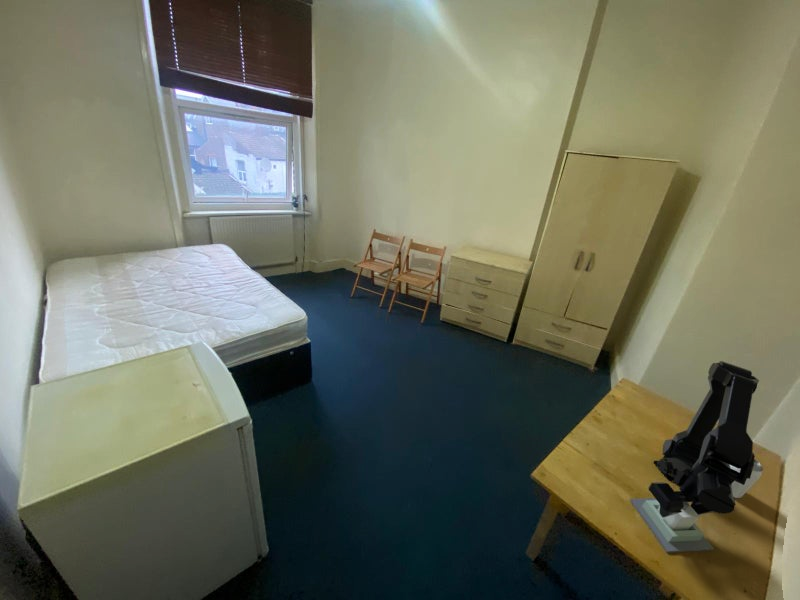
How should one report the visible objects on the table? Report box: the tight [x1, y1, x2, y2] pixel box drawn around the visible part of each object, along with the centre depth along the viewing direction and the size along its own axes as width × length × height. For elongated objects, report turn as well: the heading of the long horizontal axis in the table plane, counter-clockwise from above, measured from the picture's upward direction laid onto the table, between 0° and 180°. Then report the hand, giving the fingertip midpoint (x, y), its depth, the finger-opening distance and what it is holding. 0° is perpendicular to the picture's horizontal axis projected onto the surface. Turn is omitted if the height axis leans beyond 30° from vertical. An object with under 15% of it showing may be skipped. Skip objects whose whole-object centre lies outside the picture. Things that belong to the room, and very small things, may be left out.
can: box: [730, 459, 764, 499], centre depth 96 cm, size 6×6×12 cm
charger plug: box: [657, 502, 700, 531], centre depth 85 cm, size 5×5×8 cm
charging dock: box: [629, 497, 714, 553], centre depth 86 cm, size 13×13×3 cm
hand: (675, 514), depth 85 cm, fingers open, 8 cm apart
